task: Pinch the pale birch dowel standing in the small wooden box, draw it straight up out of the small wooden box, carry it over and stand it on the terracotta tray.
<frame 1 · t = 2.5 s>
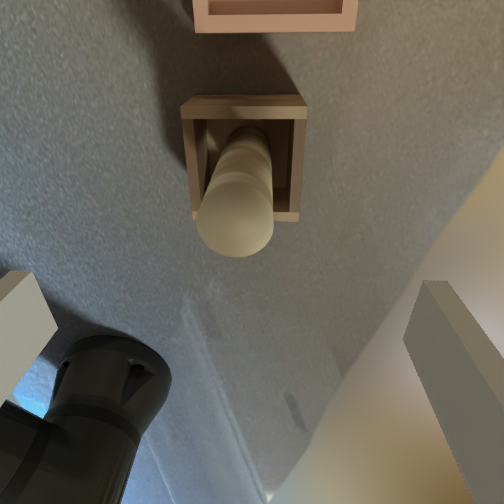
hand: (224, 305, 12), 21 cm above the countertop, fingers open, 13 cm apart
small wooden box: (248, 147, 30), on the countertop
dowel: (248, 149, 29), point 1 cm above the countertop, touching small wooden box
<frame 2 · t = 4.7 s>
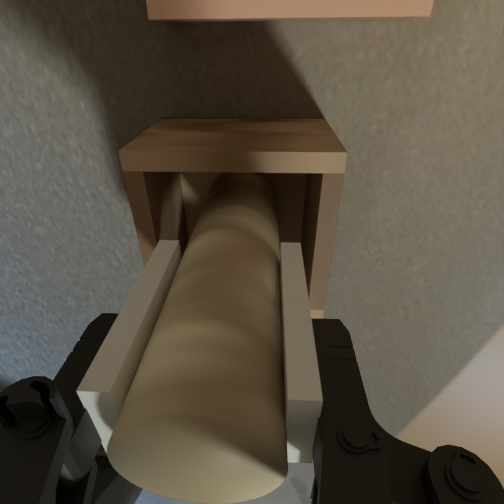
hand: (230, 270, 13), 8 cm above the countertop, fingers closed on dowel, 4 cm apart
small wooden box: (244, 194, 20), on the countertop
dowel: (242, 201, 19), point 1 cm above the countertop, touching small wooden box, gripper
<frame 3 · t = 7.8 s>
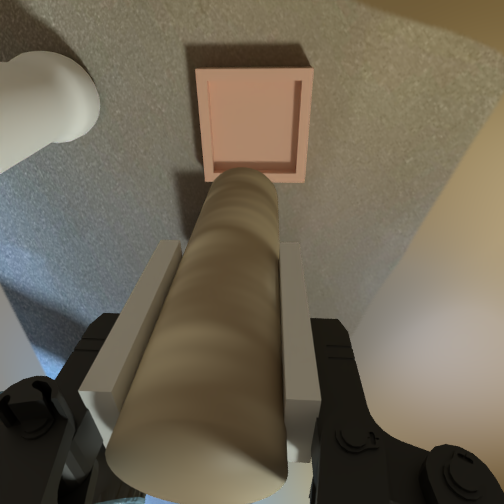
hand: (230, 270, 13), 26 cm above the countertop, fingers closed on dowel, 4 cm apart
bottle: (66, 94, 35), on the countertop
tray: (255, 125, 36), on the countertop
dowel: (242, 201, 19), point 20 cm above the countertop, touching gripper
when the fingers open (9 cm above the countertop, at t = 11.1 s): dowel drops 2 cm, resting on tray.
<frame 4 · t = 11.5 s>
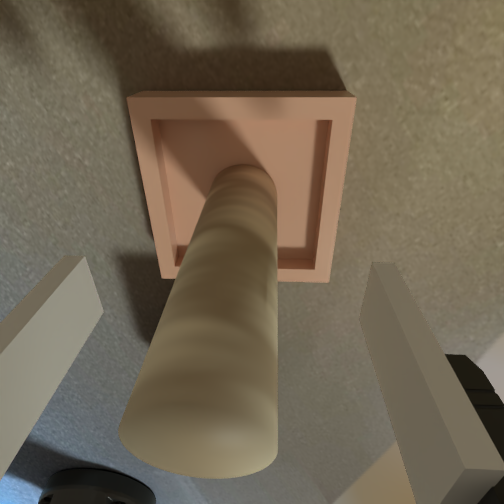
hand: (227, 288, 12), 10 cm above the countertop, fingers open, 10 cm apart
tray: (245, 187, 21), on the countertop
dowel: (243, 196, 20), point 1 cm above the countertop, touching tray
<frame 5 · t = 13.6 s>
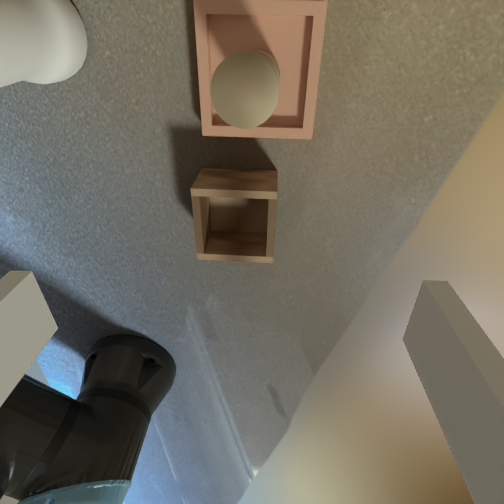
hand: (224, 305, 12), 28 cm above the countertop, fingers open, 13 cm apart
small wooden box: (239, 203, 40), on the countertop
bottle: (50, 32, 31), on the countertop
tray: (259, 72, 32), on the countertop
dowel: (258, 75, 31), point 1 cm above the countertop, touching tray
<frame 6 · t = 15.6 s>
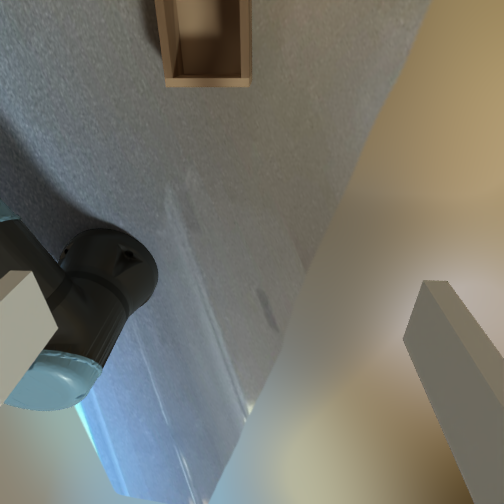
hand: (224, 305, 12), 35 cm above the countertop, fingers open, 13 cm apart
small wooden box: (213, 37, 37), on the countertop
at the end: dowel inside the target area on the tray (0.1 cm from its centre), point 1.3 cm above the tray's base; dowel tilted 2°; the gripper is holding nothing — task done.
